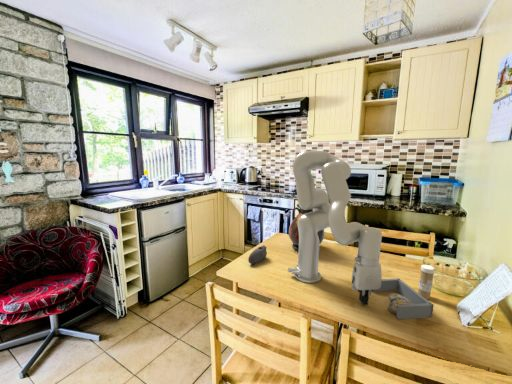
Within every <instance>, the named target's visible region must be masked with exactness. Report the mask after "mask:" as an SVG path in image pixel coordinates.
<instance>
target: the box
mask: <svg viewBox="0 0 512 384" xmlns="http://www.w3.org/2000/svg"><path fill="white" fill-rule="evenodd" d="M391 291H392V292H395V291H397V292H398V294H400V295H401V296H402V297H404V298H405V299H406V300H408V301H409V302H411V303H412V304H404V305H398V306H397V314H396V313H395V314H396V316H395V318H396V319H397V320H408V319H409V320H411V319H412V320H413V319H423V318H425V319H426V318H432V317H433V313H434V312H433V311H434V306H435V305H434V303H432V302H430V301H429V299H425V298H424V297H423V296H421V295H420V294H419V293H418V291H416V290H415V289H414V288H412V287H411V286H410V285H408V284H407V283H405V281H404V280H402V279H400V278H382V280H381V287H380V288H379V289H376V290H373V291H372V292H371V293H375V292H376V293H377V292H378V293H379V292H391Z"/></svg>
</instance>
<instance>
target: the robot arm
mask: <svg viewBox="0 0 512 384" xmlns="http://www.w3.org/2000/svg"><path fill="white" fill-rule="evenodd" d="M312 170H320V175H321V178H322V181H323V183H324V187H325V189H326V190H324V189H323V188H319V187H316V186H315V179H314V176H313V175H312V173H311V171H312ZM292 172H293V175H294V176H293V177H294V180H295V181H294V182H295V189H296V195H297V202H298V203H297V204H299V206H300V208H301V209H303V210H310V209H313V212H309V213H306V214H303V215H302V216H301V217H300V218H299V219H298V231H299V252H298V258H297V259H298V260H297V264H296V266H294V267H288V268H287V272H288V273H291V274H292V275H294V277H295V278H296V279H297V280H298V281H300V282H303V283H308V284H313V283H315V284H316V283H318V282H320V280H321V279H322V274H321V273H320V272H319V260H320V245H321V244H320V242H319V237H318V235H317V232H318V231H320V230H323V229H324V230H325V229H328V228H330V232H331V235H332V236H333V239H334V240H335V242H336V243H337V244H339V245H341V246H349V245H351V244H353V243H355V242H358V248H357V256H355V257H354V261H355V262H354V266H353V268H352V274H351V284H352V285H351V290H353V291H354V292H355V291H356V292H358V293H359V295H358V299H359V302H360V303H361V304H362V306H366V305H367V306H368V304H369V300H370V299H369V298H370V296H371V295H372V293H373V292H372V291H373V290H376V289H379V288H380V287H381V280H382V279H383V278H382V277H383V275H382V266H381V263H380V257H381V256H380V255H381V246H382V238H383V233H382V231H381V230H380V229H379V228H376V227H373V226H372V227H370V226H367V225H364V224H362V223H360V222H357V221H352V222H348V223H347V221H346V207H347V205H348V203H349V201H350V200H351V197H352V194H351V192H350V190H349V185H348V182H347V180H348V179H349V178H350V176H351V175H352V169H351V166H350V165H349V164H348V162H346V161H345V160H343V159H341V158H339V157H338V156H335V155H334V154H332V153H331V152H328V151H325V150H305V151H301V152H300V153H299V154H297V155H296V156H295V157H294V160H293V163H292ZM300 208H299V209H300Z"/></svg>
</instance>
